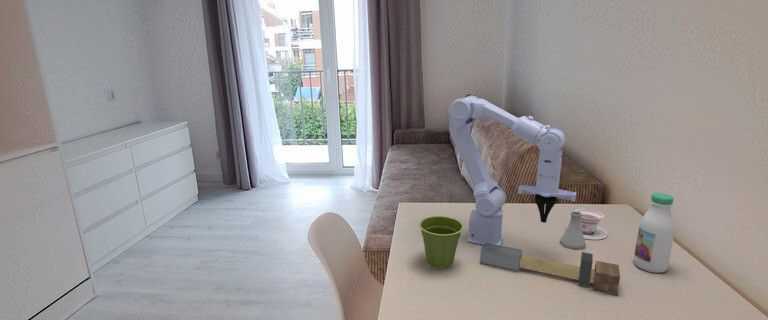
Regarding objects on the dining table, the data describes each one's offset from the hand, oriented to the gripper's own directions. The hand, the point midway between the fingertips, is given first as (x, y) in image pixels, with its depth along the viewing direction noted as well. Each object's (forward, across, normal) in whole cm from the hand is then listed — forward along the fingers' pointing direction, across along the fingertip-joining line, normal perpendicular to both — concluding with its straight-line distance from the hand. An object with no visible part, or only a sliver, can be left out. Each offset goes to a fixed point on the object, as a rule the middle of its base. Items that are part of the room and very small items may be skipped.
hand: (543, 221), depth 114 cm
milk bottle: (+10, +27, +5) cm, 29 cm away
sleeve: (+10, -9, -11) cm, 17 cm away
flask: (+10, +8, +10) cm, 16 cm away
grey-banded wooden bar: (+10, +5, -11) cm, 16 cm away
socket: (+10, +16, -11) cm, 22 cm away
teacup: (+10, +12, +21) cm, 26 cm away
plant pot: (+10, -24, -17) cm, 31 cm away
